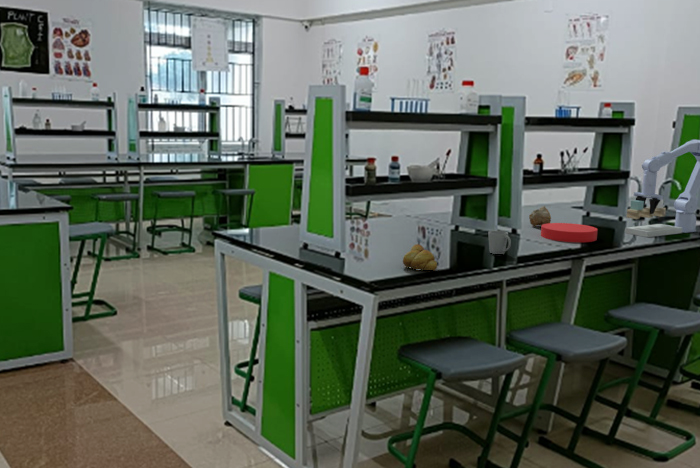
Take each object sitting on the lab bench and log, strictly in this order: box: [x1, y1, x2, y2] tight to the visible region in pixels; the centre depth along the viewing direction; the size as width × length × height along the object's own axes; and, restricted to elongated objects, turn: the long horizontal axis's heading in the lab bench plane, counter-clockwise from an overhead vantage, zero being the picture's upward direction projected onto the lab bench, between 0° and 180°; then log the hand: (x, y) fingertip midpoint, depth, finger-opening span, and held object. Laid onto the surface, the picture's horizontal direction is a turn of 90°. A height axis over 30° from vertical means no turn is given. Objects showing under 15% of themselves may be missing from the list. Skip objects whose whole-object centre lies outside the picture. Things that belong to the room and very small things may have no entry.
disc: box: [540, 222, 598, 243], centre depth 299 cm, size 24×5×24 cm
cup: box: [488, 230, 512, 255], centre depth 259 cm, size 8×10×8 cm
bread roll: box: [402, 243, 438, 271], centre depth 231 cm, size 13×10×8 cm
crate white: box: [656, 199, 665, 209], centre depth 320 cm, size 4×4×4 cm
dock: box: [624, 223, 683, 238], centre depth 314 cm, size 26×12×2 cm, turn 121°
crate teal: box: [629, 199, 645, 210], centre depth 313 cm, size 4×4×4 cm
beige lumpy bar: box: [626, 206, 667, 220], centre depth 317 cm, size 22×5×4 cm, turn 120°
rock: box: [528, 206, 552, 227], centre depth 326 cm, size 12×10×10 cm
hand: (646, 213), depth 317 cm, fingers closed on beige lumpy bar, 5 cm apart
